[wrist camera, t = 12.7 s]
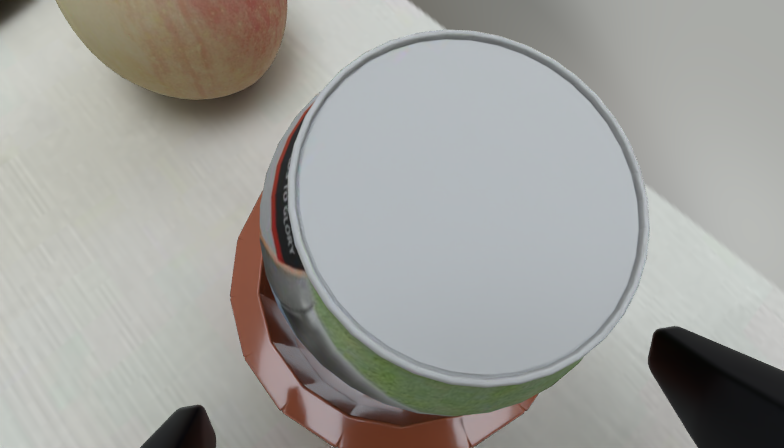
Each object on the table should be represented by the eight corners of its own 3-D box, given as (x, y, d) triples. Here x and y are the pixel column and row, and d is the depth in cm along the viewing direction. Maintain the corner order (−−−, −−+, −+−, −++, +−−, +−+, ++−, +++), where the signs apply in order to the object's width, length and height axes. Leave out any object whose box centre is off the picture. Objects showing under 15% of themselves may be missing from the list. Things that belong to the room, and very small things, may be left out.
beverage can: (345, 198, 18) (271, -95, 7) (508, 258, 17) (743, 41, 6) (280, 338, 16) (14, 261, 5) (460, 413, 15) (678, 547, 4)
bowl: (580, 341, 17) (646, 331, 12) (343, 496, 15) (325, 547, 10) (440, 140, 20) (455, 77, 15) (229, 248, 18) (179, 210, 13)
